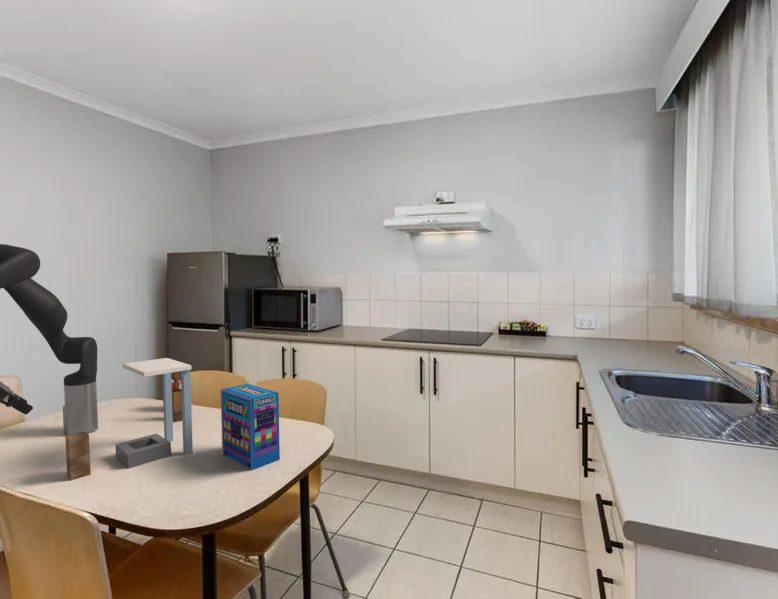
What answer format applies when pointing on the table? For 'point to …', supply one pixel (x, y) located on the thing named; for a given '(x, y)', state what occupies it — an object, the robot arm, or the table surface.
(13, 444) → the table surface
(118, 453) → the socket
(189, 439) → the two-legged side table
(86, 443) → the walnut peg
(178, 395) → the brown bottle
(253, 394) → the box
